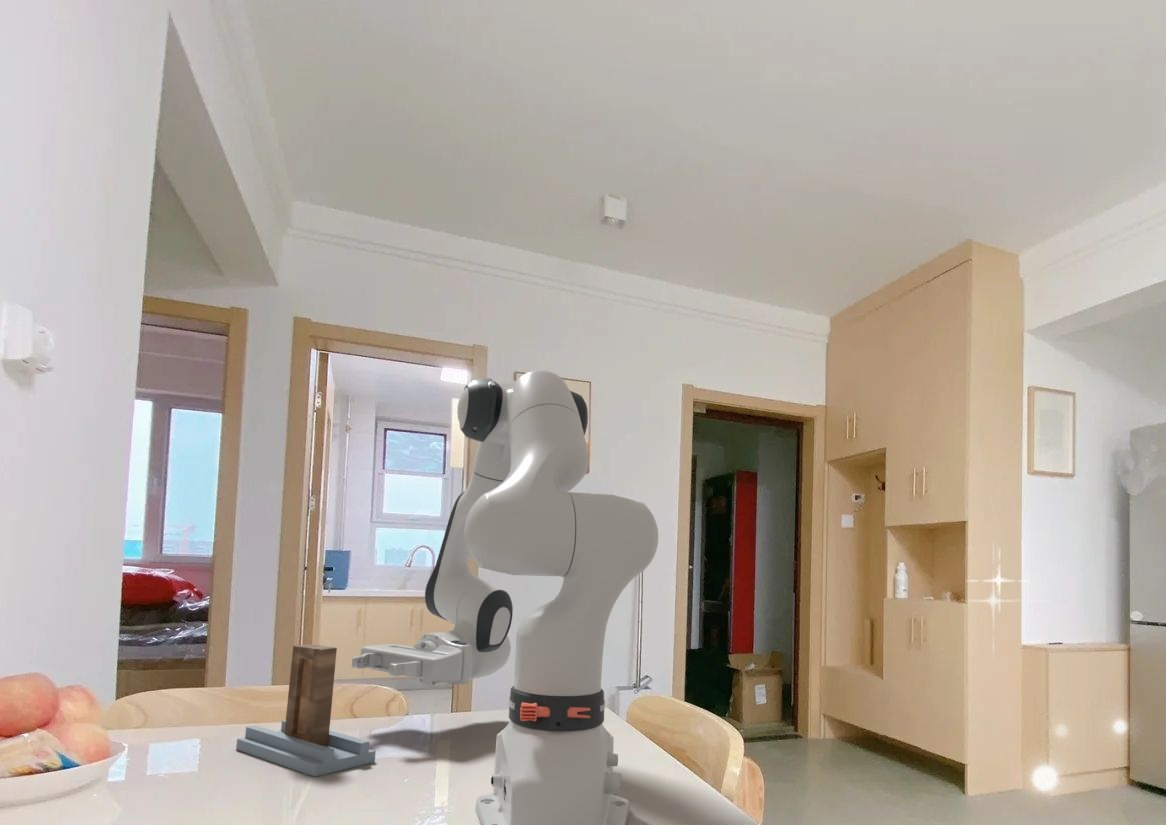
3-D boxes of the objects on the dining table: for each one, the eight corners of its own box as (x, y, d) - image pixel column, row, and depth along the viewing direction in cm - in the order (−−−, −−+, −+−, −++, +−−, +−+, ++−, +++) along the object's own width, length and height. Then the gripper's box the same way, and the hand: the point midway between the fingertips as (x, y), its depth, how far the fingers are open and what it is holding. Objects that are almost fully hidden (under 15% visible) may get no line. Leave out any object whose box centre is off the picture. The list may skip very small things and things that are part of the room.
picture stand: (374, 761, 109) (376, 740, 110) (314, 776, 101) (316, 753, 102) (295, 737, 121) (297, 718, 121) (236, 749, 113) (238, 728, 114)
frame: (327, 745, 111) (336, 647, 114) (312, 750, 109) (321, 649, 111) (299, 739, 114) (308, 644, 117) (283, 743, 111) (293, 645, 114)
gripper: (399, 634, 140) (335, 639, 129) (478, 645, 128) (415, 653, 117) (396, 669, 139) (332, 678, 128) (476, 684, 126) (412, 695, 116)
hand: (372, 666), depth 122 cm, fingers open, 8 cm apart
